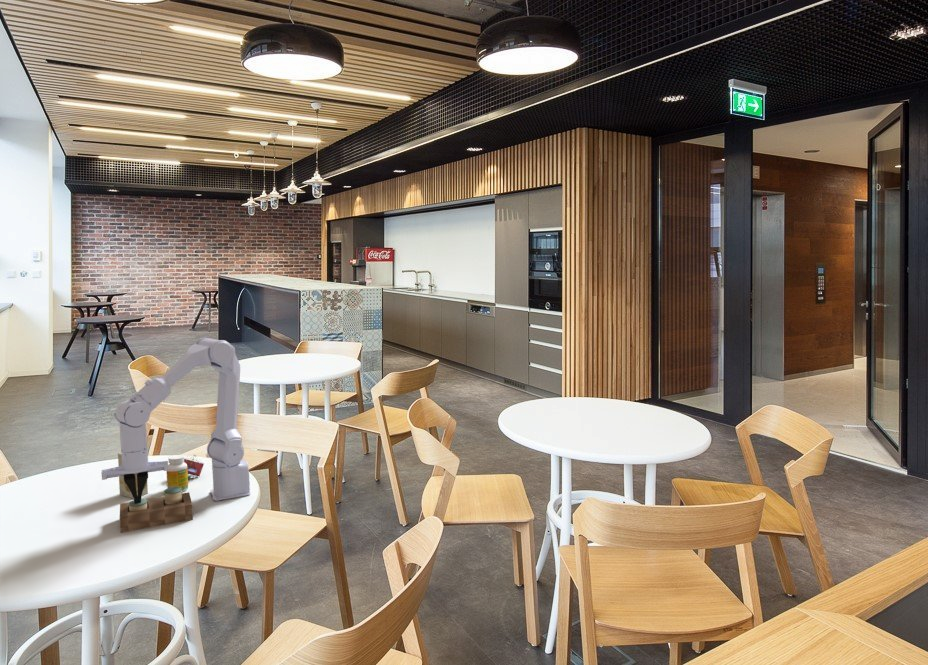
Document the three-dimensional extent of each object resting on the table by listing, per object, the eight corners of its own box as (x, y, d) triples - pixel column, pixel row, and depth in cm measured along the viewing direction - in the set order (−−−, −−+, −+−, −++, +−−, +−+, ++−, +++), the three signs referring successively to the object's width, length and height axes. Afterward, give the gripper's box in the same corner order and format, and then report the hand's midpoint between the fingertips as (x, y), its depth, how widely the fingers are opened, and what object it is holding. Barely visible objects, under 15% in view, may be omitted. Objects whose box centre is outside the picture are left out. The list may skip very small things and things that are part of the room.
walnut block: (190, 506, 164) (189, 492, 163) (192, 519, 156) (192, 504, 155) (121, 518, 156) (120, 503, 156) (120, 532, 148) (119, 516, 148)
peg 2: (181, 500, 160) (180, 485, 160) (182, 506, 157) (182, 490, 156) (164, 503, 158) (163, 488, 158) (165, 509, 155) (164, 493, 154)
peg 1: (147, 512, 157) (146, 497, 156) (148, 518, 153) (147, 503, 153) (129, 515, 155) (128, 500, 154) (129, 521, 151) (128, 506, 151)
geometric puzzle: (210, 465, 190) (192, 446, 188) (207, 472, 183) (189, 453, 181) (191, 480, 189) (172, 461, 186) (187, 488, 182) (168, 469, 180)
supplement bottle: (180, 494, 172) (178, 460, 171) (163, 492, 173) (161, 459, 172) (192, 487, 177) (190, 454, 176) (175, 485, 179) (174, 453, 177)
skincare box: (119, 495, 171) (116, 453, 170) (132, 490, 175) (130, 448, 174) (135, 499, 169) (133, 455, 167) (149, 493, 173) (146, 451, 171)
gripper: (166, 440, 159) (169, 491, 160) (100, 448, 152) (104, 501, 154) (167, 448, 152) (170, 500, 154) (99, 457, 146) (103, 512, 147)
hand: (137, 502), depth 153 cm, fingers closed, pressing on peg 1
